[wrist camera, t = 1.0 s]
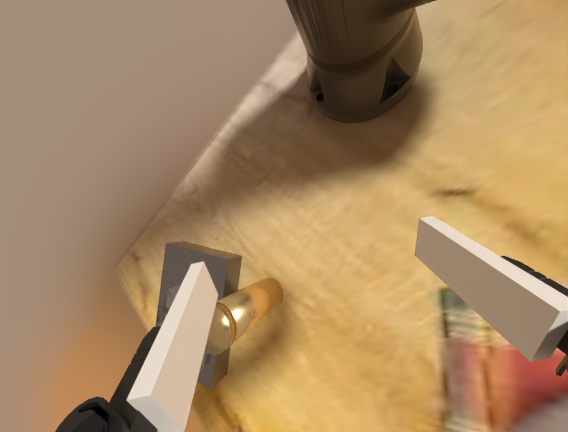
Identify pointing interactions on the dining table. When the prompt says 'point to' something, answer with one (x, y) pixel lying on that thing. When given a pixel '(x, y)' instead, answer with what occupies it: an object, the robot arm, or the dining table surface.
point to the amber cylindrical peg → (241, 313)
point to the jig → (224, 279)
